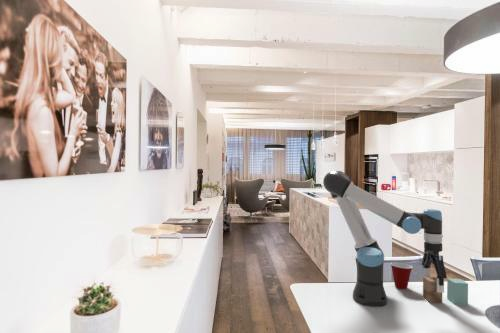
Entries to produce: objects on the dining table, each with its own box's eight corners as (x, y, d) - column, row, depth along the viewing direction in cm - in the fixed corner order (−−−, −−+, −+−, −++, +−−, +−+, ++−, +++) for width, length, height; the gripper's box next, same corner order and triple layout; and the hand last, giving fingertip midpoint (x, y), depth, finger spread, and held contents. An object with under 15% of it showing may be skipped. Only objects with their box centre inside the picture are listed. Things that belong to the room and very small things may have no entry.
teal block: (453, 304, 141) (453, 282, 141) (447, 299, 147) (447, 278, 147) (467, 305, 140) (468, 283, 140) (460, 300, 146) (460, 279, 146)
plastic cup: (416, 288, 159) (417, 265, 160) (405, 292, 153) (406, 268, 153) (396, 281, 168) (397, 260, 169) (385, 285, 162) (386, 263, 162)
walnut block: (428, 302, 142) (428, 281, 142) (422, 297, 148) (423, 276, 148) (442, 303, 141) (442, 282, 141) (436, 298, 147) (436, 277, 147)
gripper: (455, 248, 132) (456, 297, 132) (429, 236, 157) (430, 278, 156) (437, 248, 133) (437, 296, 133) (414, 236, 158) (414, 277, 157)
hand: (433, 286), depth 145 cm, fingers open, 13 cm apart
